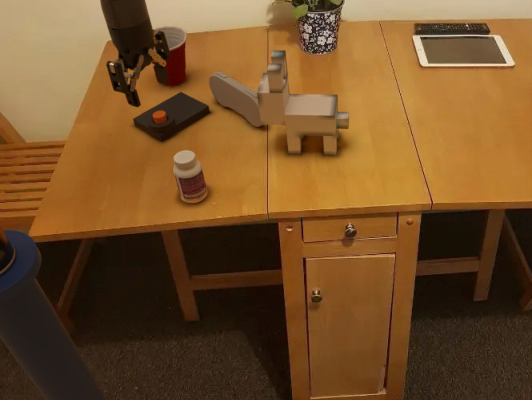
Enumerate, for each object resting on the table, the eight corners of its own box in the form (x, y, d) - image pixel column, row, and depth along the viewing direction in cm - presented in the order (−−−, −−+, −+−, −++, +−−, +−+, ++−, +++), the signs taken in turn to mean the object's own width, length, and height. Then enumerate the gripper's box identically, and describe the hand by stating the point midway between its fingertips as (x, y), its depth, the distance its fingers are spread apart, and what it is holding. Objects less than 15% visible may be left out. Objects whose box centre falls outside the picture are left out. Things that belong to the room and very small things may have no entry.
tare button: (159, 126, 126) (157, 119, 125) (151, 121, 128) (149, 114, 126) (169, 120, 128) (168, 113, 127) (162, 115, 129) (160, 109, 128)
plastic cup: (150, 94, 142) (137, 49, 134) (155, 71, 150) (143, 28, 141) (194, 90, 142) (184, 45, 134) (197, 67, 150) (188, 24, 142)
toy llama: (348, 155, 121) (346, 70, 107) (265, 153, 123) (253, 70, 109) (350, 134, 126) (349, 50, 113) (270, 132, 128) (260, 50, 115)
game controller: (271, 128, 129) (267, 96, 124) (263, 132, 128) (259, 101, 122) (219, 95, 140) (213, 65, 134) (211, 99, 139) (205, 68, 133)
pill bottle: (213, 191, 115) (205, 153, 108) (195, 207, 111) (185, 169, 105) (193, 182, 117) (183, 144, 110) (174, 198, 114) (163, 159, 107)
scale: (161, 143, 127) (158, 130, 125) (133, 126, 132) (129, 113, 130) (211, 113, 135) (208, 100, 132) (182, 98, 140) (179, 85, 137)
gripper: (136, -4, 108) (156, 72, 120) (82, 30, 99) (110, 109, 110) (168, 2, 106) (186, 79, 117) (116, 38, 97) (141, 118, 108)
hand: (149, 94), depth 114 cm, fingers open, 8 cm apart
